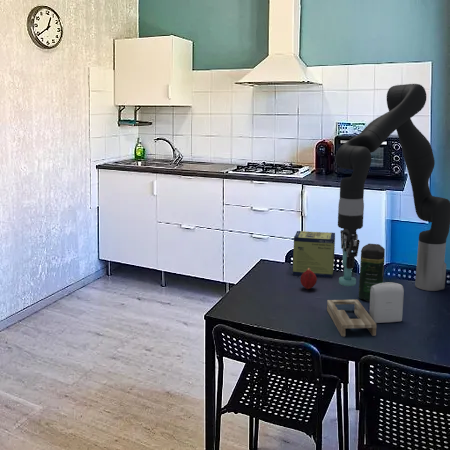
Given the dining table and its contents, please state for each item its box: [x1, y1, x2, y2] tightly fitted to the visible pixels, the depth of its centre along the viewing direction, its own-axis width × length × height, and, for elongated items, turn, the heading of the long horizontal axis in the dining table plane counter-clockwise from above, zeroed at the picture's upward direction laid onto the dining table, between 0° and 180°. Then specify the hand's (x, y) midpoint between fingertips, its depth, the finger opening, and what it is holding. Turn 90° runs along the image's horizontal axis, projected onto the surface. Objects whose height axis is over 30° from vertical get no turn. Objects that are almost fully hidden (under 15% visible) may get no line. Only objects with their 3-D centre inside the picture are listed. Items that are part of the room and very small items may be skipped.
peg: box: [338, 251, 357, 287], centre depth 171 cm, size 5×5×10 cm
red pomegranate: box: [299, 268, 318, 290], centre depth 197 cm, size 6×6×8 cm
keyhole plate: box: [326, 299, 378, 337], centre depth 169 cm, size 10×20×4 cm, turn 2°
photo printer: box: [368, 281, 405, 324], centre depth 169 cm, size 10×4×12 cm, turn 96°
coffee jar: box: [358, 243, 386, 302], centre depth 188 cm, size 10×8×19 cm
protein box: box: [292, 230, 336, 279], centre depth 215 cm, size 10×16×16 cm
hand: (348, 265), depth 170 cm, fingers closed on peg, 3 cm apart
